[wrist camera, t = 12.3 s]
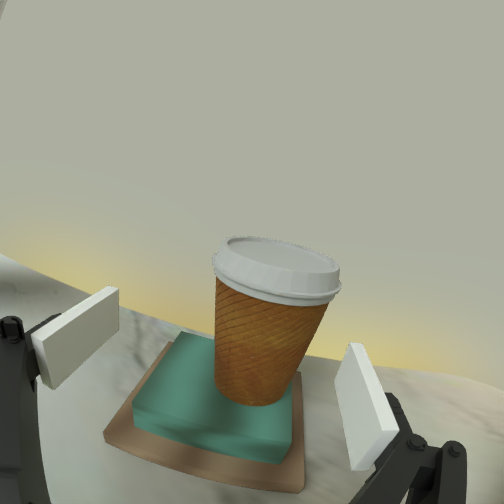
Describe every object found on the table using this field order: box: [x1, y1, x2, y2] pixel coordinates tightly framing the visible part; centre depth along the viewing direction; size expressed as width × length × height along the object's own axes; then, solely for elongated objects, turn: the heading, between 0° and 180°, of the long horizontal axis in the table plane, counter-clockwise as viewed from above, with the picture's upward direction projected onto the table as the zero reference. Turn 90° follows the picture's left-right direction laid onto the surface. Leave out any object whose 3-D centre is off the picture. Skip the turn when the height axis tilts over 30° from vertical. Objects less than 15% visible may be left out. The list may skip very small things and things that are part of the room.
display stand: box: [103, 331, 305, 493], centre depth 23 cm, size 16×16×5 cm
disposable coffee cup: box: [212, 236, 341, 407], centre depth 22 cm, size 10×10×12 cm
